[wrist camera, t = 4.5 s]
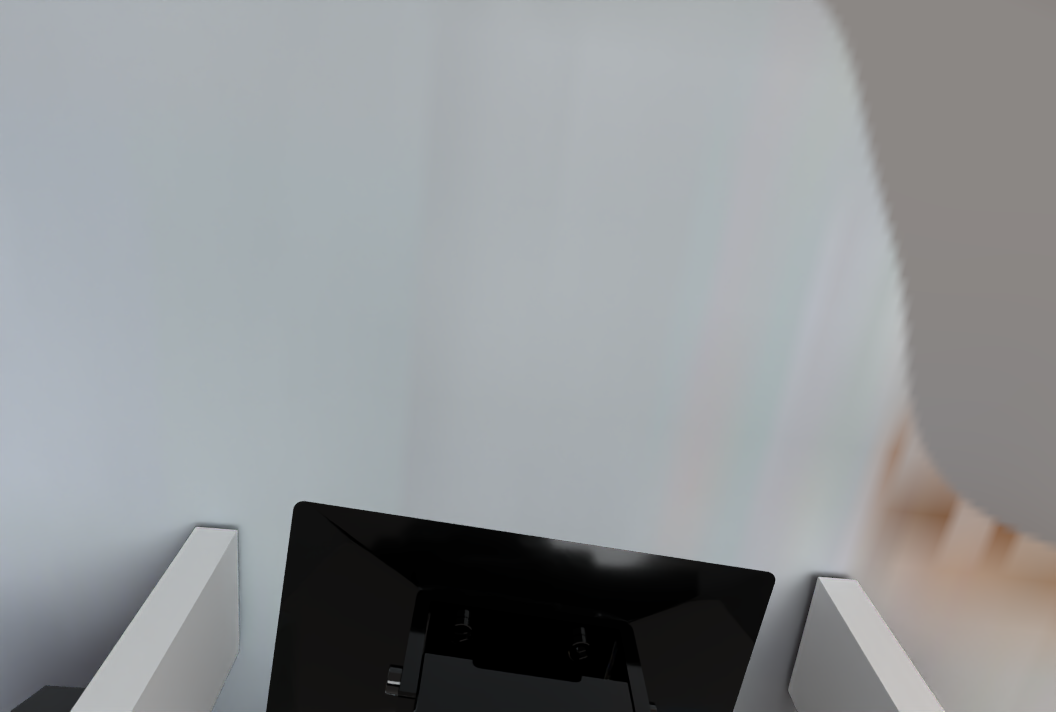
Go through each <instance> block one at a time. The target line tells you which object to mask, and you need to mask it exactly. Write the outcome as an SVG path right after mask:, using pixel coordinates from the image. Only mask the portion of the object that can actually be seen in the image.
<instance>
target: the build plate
mask: <svg viewBox="0 0 1056 712" xmlns="http://www.w3.org/2000/svg"><path fill="white" fill-rule="evenodd" d="M774 584H775V577H774V575H773V574H772V573H770V572H765V571H759V570H752V569H745V568H739V567H732V566H726V565H719V564H713V563H706V562H700V561H693V560H686V559H680V558H673V557H667V556H660V555H654V554H647V553H641V552H634V551H627V550H621V549H614V548H608V547H601V546H595V545H588V544H582V543H575V542H568V541H562V540H555V539H549V538H542V537H536V536H529V535H523V534H516V533H509V532H503V531H496V530H490V529H483V528H477V527H470V526H464V525H457V524H450V523H444V522H437V521H431V520H424V519H418V518H411V517H405V516H398V515H391V514H385V513H378V512H372V511H365V510H359V509H352V508H346V507H339V506H332V505H326V504H319V503H313V502H306V501H302V502H299V503H297V504H296V505H295V506H294V509H293V516H292V524H291V531H290V538H289V546H288V553H287V561H286V568H285V576H284V583H283V590H282V598H281V605H280V613H279V620H278V628H277V635H276V642H275V650H274V657H273V665H272V672H271V680H270V687H269V694H268V702H267V709H266V712H733V709H734V706H735V703H736V700H737V697H738V694H739V691H740V688H741V685H742V682H743V679H744V675H745V672H746V669H747V666H748V663H749V660H750V657H751V654H752V651H753V648H754V645H755V642H756V639H757V636H758V633H759V630H760V626H761V623H762V620H763V617H764V614H765V611H766V608H767V605H768V602H769V599H770V596H771V593H772V590H773V587H774Z"/></svg>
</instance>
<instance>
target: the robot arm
mask: <svg viewBox="0 0 1056 712" xmlns="http://www.w3.org/2000/svg"><path fill="white" fill-rule="evenodd" d="M238 653H239V585H238V530H231V529H218V528H206V527H195V529H194V530H193V532H192V533H191V535H190V536H189V538H188V539H187V541H186V542H185V544H184V545H183V547H182V548H181V549H180V551H179V552H178V554H177V555H176V557H175V558H174V560H173V561H172V563H171V564H170V566H169V567H168V569H167V570H166V572H165V573H164V574H163V576H162V577H161V579H160V580H159V582H158V583H157V585H156V586H155V588H154V589H153V591H152V592H151V594H150V595H149V596H148V598H147V599H146V601H145V602H144V604H143V605H142V607H141V608H140V610H139V611H138V613H137V614H136V616H135V617H134V619H133V620H132V621H131V623H130V624H129V626H128V627H127V629H126V630H125V632H124V633H123V635H122V636H121V638H120V639H119V641H118V642H117V644H116V645H115V646H114V648H113V649H112V651H111V652H110V654H109V655H108V657H107V658H106V660H105V661H104V663H103V664H102V666H101V667H100V669H99V670H98V671H97V673H96V674H95V676H94V677H93V679H92V680H91V682H90V683H89V685H88V686H87V688H73V687H59V686H45V687H43V688H42V689H41V690H39V691H38V692H36V693H35V694H34V695H32V696H31V697H30V698H28V699H27V700H25V701H24V702H23V703H21V704H20V705H19V706H17V707H16V708H14V709H13V710H12V711H11V712H211V711H212V709H213V707H214V705H215V702H216V700H217V698H218V696H219V694H220V692H221V689H222V687H223V685H224V683H225V681H226V679H227V676H228V674H229V672H230V670H231V668H232V666H233V663H234V661H235V659H236V657H237V655H238ZM788 692H789V694H790V696H791V698H792V701H793V703H794V705H795V707H796V710H797V712H945V711H944V709H943V708H942V706H941V705H940V703H939V702H938V701H937V699H936V698H935V696H934V695H933V693H932V692H931V690H930V689H929V687H928V686H927V684H926V683H925V681H924V680H923V678H922V677H921V675H920V674H919V672H918V671H917V669H916V668H915V666H914V665H913V663H912V662H911V660H910V659H909V657H908V656H907V654H906V653H905V651H904V650H903V648H902V647H901V645H900V644H899V642H898V641H897V639H896V638H895V636H894V635H893V634H892V632H891V631H890V629H889V628H888V626H887V625H886V623H885V622H884V620H883V619H882V617H881V616H880V614H879V613H878V611H877V610H876V608H875V607H874V605H873V604H872V602H871V601H870V599H869V598H868V596H867V595H866V593H865V592H864V590H863V589H862V587H861V586H860V584H859V583H858V581H857V580H852V579H840V578H827V577H818V579H817V583H816V587H815V590H814V594H813V598H812V602H811V605H810V609H809V613H808V617H807V620H806V624H805V628H804V632H803V635H802V639H801V643H800V647H799V650H798V654H797V658H796V662H795V665H794V669H793V673H792V677H791V680H790V684H789V688H788Z"/></svg>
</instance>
